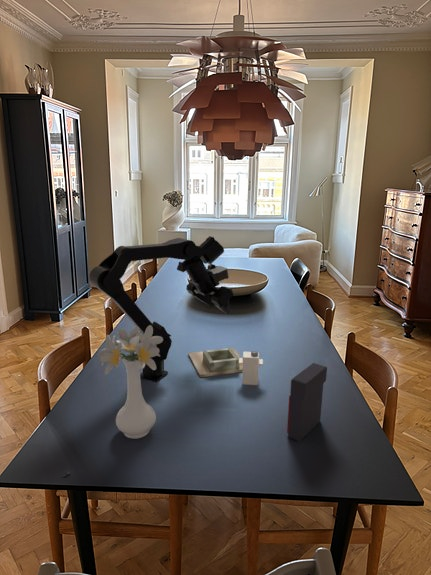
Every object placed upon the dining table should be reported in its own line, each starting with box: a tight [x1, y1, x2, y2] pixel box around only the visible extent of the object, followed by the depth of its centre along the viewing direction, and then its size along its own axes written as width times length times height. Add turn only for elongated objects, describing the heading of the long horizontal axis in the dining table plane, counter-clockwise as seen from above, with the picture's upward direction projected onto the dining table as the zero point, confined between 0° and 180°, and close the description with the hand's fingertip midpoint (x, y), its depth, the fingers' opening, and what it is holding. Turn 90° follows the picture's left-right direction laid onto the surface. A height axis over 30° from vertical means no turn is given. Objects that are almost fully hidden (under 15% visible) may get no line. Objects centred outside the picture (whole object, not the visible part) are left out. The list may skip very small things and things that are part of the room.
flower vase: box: [97, 325, 163, 440], centre depth 95 cm, size 13×18×25 cm
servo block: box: [239, 350, 264, 386], centre depth 121 cm, size 7×4×9 cm, turn 83°
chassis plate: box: [188, 347, 243, 378], centre depth 133 cm, size 16×16×4 cm
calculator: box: [286, 362, 328, 442], centre depth 97 cm, size 11×4×15 cm, turn 141°
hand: (220, 309), depth 135 cm, fingers open, 9 cm apart
